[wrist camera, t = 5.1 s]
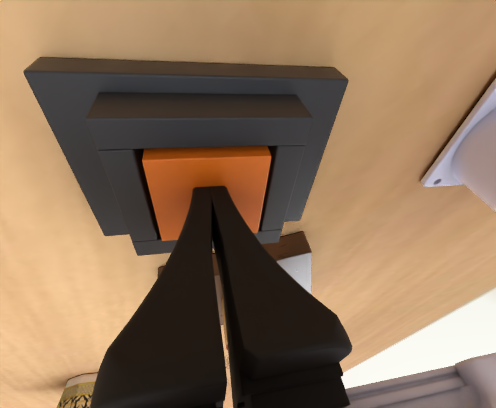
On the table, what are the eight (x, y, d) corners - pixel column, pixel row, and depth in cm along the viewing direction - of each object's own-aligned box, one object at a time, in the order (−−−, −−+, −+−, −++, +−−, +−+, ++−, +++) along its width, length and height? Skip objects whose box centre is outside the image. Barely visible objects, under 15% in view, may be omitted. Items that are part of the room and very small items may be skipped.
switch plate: (335, 66, 12) (374, 100, 9) (293, 204, 18) (310, 245, 16) (38, 56, 10) (-10, 96, 7) (109, 217, 16) (96, 267, 14)
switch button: (261, 129, 11) (272, 156, 10) (250, 205, 15) (258, 233, 13) (146, 130, 11) (141, 160, 9) (163, 210, 14) (161, 241, 13)
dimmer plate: (303, 230, 21) (312, 253, 19) (304, 285, 28) (311, 304, 26) (157, 267, 21) (156, 292, 19) (197, 312, 28) (198, 332, 27)
